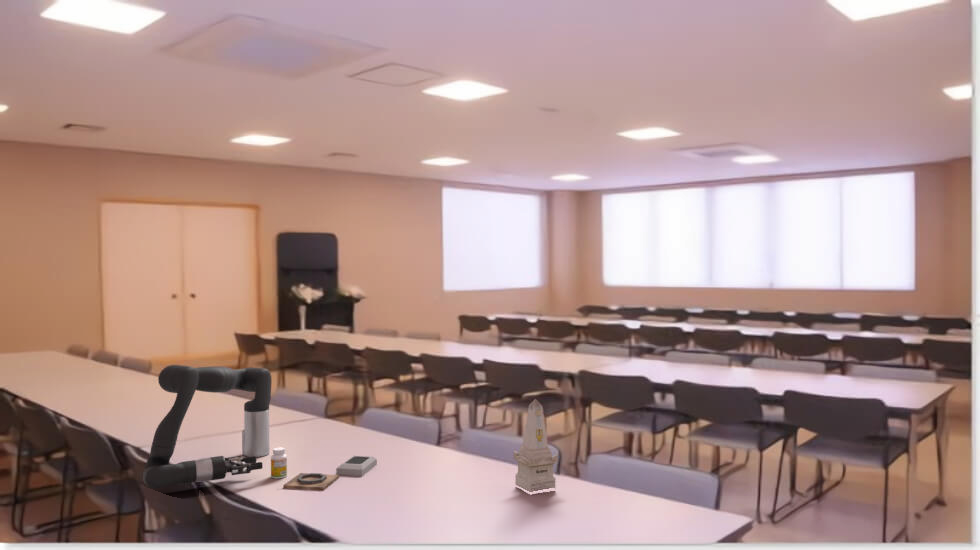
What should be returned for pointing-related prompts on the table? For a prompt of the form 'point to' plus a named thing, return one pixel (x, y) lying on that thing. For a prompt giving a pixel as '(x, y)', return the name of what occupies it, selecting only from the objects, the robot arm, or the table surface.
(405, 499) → the table surface
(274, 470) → the supplement bottle
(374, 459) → the grey flat boxy piece
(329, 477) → the carrier plate
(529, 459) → the miniature monument
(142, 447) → the table surface
